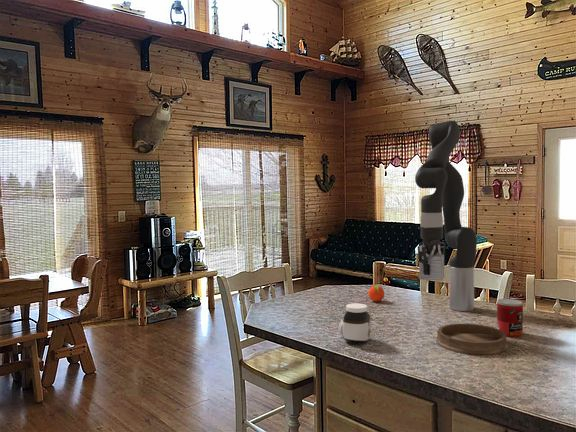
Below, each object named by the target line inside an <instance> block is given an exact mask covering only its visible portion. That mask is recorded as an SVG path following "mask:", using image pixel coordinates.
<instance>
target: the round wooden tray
mask: <svg viewBox="0 0 576 432" xmlns="http://www.w3.org/2000/svg"><path fill="white" fill-rule="evenodd" d="M436 332H437V336H436V343H437V345H438V346H440V347H441V348H443V349H445V350H448V351H451V352H453V353H454V352H455V353H458V354H459V353H460V354H465V355H472V356H473V355H474V356H490V355H491V356H493V355H498V354H502V353H504V352H506V351H507V350H508V349H509V343H508V341H507V337H506V334H505V333H504V332H503V331H501V330H499V329H497V327H492V326H489V325H485V324H478V323H476V324H475V323H451V324H445V325H442V326H440V327H438V329H437V331H436Z"/></svg>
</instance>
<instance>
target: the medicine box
mask: <svg viewBox="0 0 576 432" xmlns="http://www.w3.org/2000/svg"><path fill="white" fill-rule="evenodd" d="M426 255H427V254H426ZM422 259H423V256H422ZM427 260H428V258H427ZM418 264H419V267H418V268H419V270H418V271H419V275H418V276H419V277H418V279H419V280H421V281H422V280H423V281H425V280H426V281H441V282H442V281H444V279H445V256H444V255H442V253H441V254H440V255H438V254H434V255H433V258H431V261H430V275H424V272H423V263H420V262H419V261H418Z"/></svg>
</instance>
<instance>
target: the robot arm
mask: <svg viewBox="0 0 576 432" xmlns="http://www.w3.org/2000/svg"><path fill="white" fill-rule="evenodd" d="M428 129H429V130H428V137H429V142H430V146H431V150H430V152H429V153H428V155H427V158H426V160H425V162H424V163H423V164H421V166H420V167H419V168H418V169H417V171H416V173H415V176H414V181H415V182H414V183H415V185H416V186H417V187H418V188H420V189H435V191H434V192H433V193H431V194H427V195H423V196H422V197H421V199H420V222H419V223H420V239H421V240H423V241H422V242H423V244H422V245H417V255H418V263H419V262H420V263H423V272H424V275H430V261H431V258H433V255H434V254H438V255H440V254H442V255H444V257H445V256H446V255H445V254H446V244H447V245H448V247H449V248H451V249H456V253H455V256H454V257H452V258H451V257H450V259H449V260H448V261H449V270H448V271H449V281H448V282H449V285H448V286H449V287H448V288H449V297H448V299H449V309H450V310H453V311H456V312H457V311H459V312H469V311H473V310H475V309H474V308H475V285H474V284H475V283H474V282H475V281H474V280H475V279H474V278H475V275H474V274H475V273H474V272H475V269H474V267H475V265H474V264H475V261H476V259H477V246H478V244H477V243H478V241H477V234H476V231H475V230H474V229H473V228H471V227H467V226H462V222H461V217H460V215H461V214H460V210H461V207H462V204H463V202H464V201H463V200H464V197H465V188H464V182H463V177H462V175H461V173H460V172H459V171H458V169H456V167H455V166H453V164H452V163H451V162H450V161H449V158H450V156H451V154H452V152H453V151H454V150H455V148H456V147H457V145H458V143H459V141H460V139H461V129H460V126H459V124H458V122H457V121H455V120H447V121H443V122H439V123H438V122H437V123H433V124H430V125H429V127H428ZM444 238H445V242H441V240H442V239H444ZM426 254H427V255H426ZM422 256H423V259H422ZM427 258H428V260H427Z"/></svg>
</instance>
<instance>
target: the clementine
mask: <svg viewBox="0 0 576 432" xmlns="http://www.w3.org/2000/svg"><path fill="white" fill-rule="evenodd" d="M367 293H368V297H369V299H370V300H371V301H372V302H376V303H377V302H380V301H382V300H383V299H384V298H385V290H384V289H383V287H381V286H380V285H376V284H375V285H372V286H371V287H370V288H369V290H368V292H367Z"/></svg>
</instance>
